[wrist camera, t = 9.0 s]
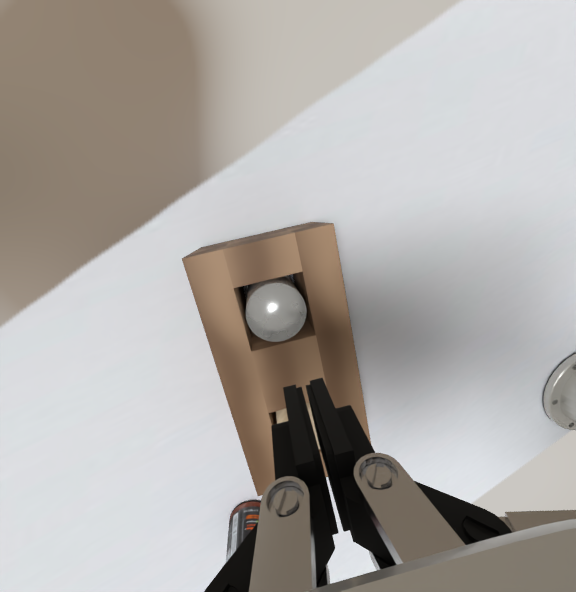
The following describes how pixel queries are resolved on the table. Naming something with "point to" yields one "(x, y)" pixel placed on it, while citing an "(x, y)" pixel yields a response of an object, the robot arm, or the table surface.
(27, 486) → the table surface
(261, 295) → the gray peg
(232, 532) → the supplement bottle
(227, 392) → the walnut block
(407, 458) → the table surface
